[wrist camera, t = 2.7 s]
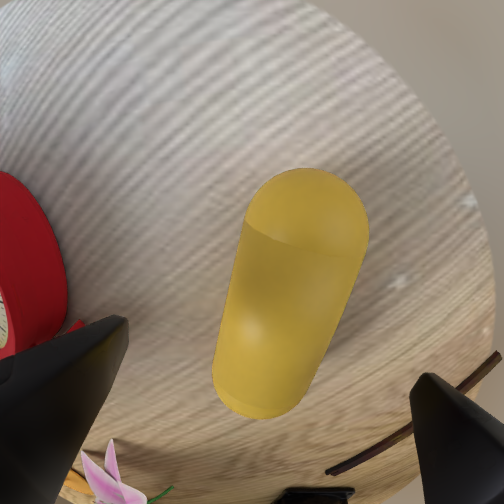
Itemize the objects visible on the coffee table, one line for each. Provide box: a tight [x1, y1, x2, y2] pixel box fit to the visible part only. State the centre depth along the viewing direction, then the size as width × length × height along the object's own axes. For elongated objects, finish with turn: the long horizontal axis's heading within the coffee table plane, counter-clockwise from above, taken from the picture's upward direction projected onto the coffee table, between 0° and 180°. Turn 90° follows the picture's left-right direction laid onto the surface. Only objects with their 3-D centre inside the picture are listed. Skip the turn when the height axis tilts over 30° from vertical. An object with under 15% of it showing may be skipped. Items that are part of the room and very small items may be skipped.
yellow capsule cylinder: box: [212, 168, 369, 419], centre depth 10 cm, size 4×10×4 cm, turn 167°
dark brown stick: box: [325, 350, 502, 476], centre depth 15 cm, size 15×1×1 cm
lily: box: [81, 439, 174, 504], centre depth 16 cm, size 12×12×10 cm
